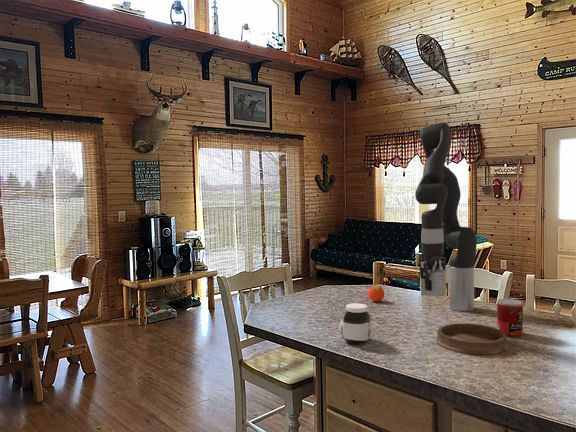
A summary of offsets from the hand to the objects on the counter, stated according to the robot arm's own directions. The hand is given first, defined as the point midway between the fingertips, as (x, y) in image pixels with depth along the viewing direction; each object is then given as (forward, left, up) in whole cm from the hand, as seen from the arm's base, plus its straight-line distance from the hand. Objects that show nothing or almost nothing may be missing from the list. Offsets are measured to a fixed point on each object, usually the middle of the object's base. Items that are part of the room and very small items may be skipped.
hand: (433, 288), depth 168 cm
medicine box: (0, 0, -2) cm, 2 cm away
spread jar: (+29, -12, -14) cm, 35 cm away
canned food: (-12, +21, -14) cm, 28 cm away
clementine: (-17, -39, -14) cm, 44 cm away
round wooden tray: (+6, +17, -14) cm, 23 cm away
